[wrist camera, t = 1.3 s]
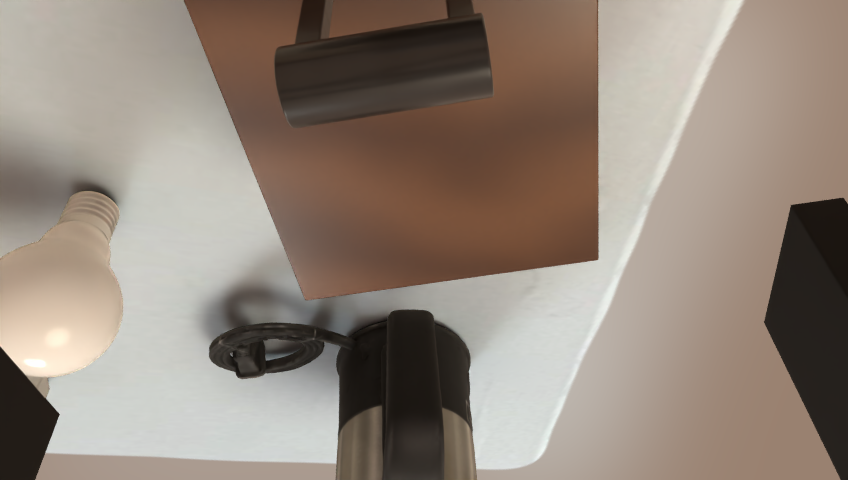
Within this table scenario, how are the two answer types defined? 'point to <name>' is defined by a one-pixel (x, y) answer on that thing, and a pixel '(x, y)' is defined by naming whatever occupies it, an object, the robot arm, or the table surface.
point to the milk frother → (380, 393)
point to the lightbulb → (62, 292)
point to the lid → (414, 133)
